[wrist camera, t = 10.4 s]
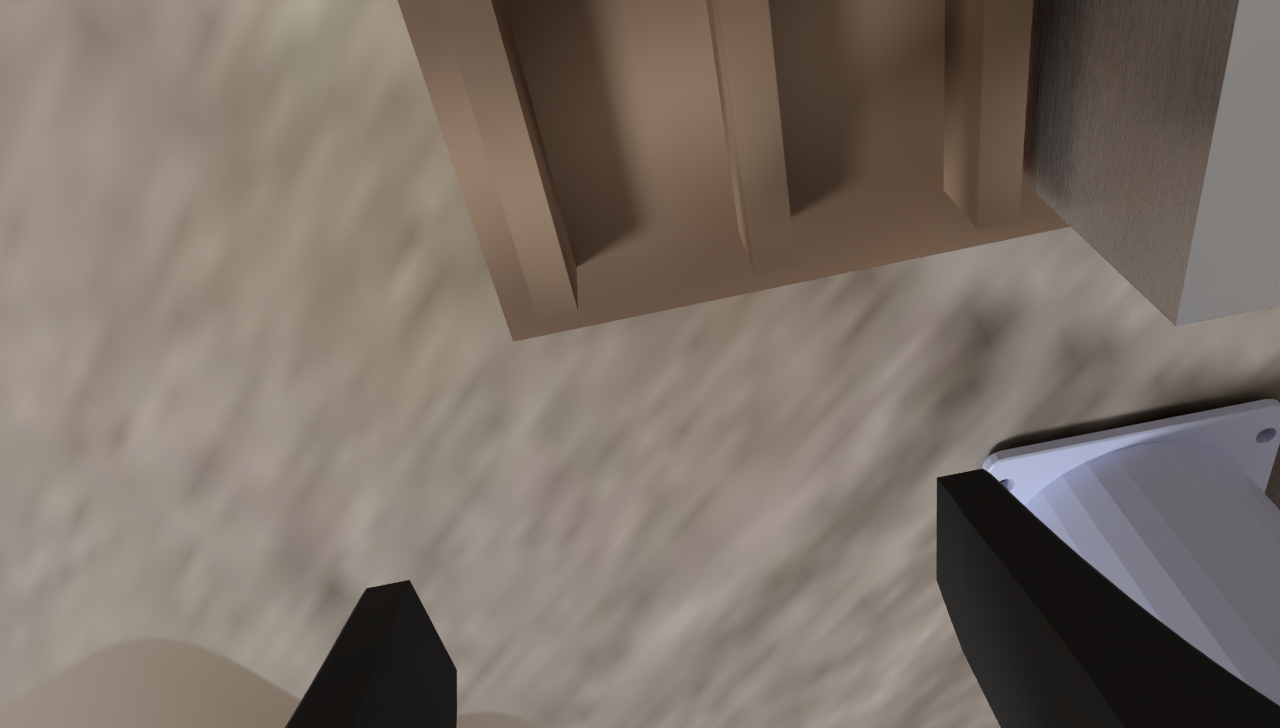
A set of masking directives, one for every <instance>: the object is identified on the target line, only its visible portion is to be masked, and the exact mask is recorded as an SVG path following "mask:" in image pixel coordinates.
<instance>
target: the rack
mask: <svg viewBox="0 0 1280 728" xmlns="http://www.w3.org/2000/svg"><path fill="white" fill-rule="evenodd" d="M398 3H399V5H400V8H401V11H402V14H403V17H404V20H405V23H406V26H407V29H408V32H409V35H410V38H411V41H412V44H413V47H414V50H415V53H416V56H417V59H418V62H419V65H420V68H421V70H422V73H423V76H424V79H425V82H426V85H427V88H428V91H429V94H430V97H431V100H432V103H433V106H434V109H435V112H436V115H437V118H438V121H439V124H440V127H441V130H442V133H443V135H444V138H445V141H446V144H447V147H448V150H449V153H450V156H451V159H452V162H453V165H454V168H455V171H456V174H457V177H458V180H459V183H460V186H461V189H462V192H463V195H464V197H465V200H466V203H467V206H468V209H469V212H470V215H471V218H472V221H473V224H474V227H475V230H476V233H477V236H478V239H479V242H480V245H481V248H482V251H483V254H484V257H485V260H486V262H487V265H488V268H489V271H490V274H491V277H492V280H493V283H494V286H495V289H496V292H497V295H498V298H499V301H500V304H501V307H502V310H503V313H504V316H505V319H506V322H507V324H508V327H509V330H510V333H511V336H512V339H513V342H514V341H518V340H523V339H528V338H533V337H538V336H543V335H547V334H552V333H557V332H562V331H567V330H572V329H576V328H581V327H586V326H591V325H596V324H601V323H606V322H610V321H615V320H620V319H625V318H630V317H635V316H639V315H644V314H649V313H654V312H659V311H664V310H668V309H673V308H678V307H683V306H688V305H693V304H697V303H702V302H707V301H712V300H717V299H722V298H726V297H731V296H736V295H741V294H746V293H751V292H755V291H760V290H765V289H770V288H775V287H780V286H785V285H789V284H794V283H799V282H804V281H809V280H814V279H818V278H823V277H828V276H833V275H838V274H843V273H847V272H852V271H857V270H862V269H867V268H872V267H876V266H881V265H886V264H891V263H896V262H901V261H905V260H910V259H915V258H920V257H925V256H930V255H934V254H939V253H944V252H949V251H954V250H959V249H964V248H968V247H973V246H978V245H983V244H988V243H993V242H997V241H1002V240H1007V239H1012V238H1017V237H1022V236H1026V235H1031V234H1036V233H1041V232H1046V231H1051V230H1055V229H1060V228H1065V227H1070V225H1069V224H1068V223H1066V222H1065V221H1064V220H1063V219H1062V218H1061V217H1060V216H1059V215H1058V214H1057V213H1056V212H1055V211H1054V210H1053V209H1052V208H1051V207H1050V206H1049V205H1047V204H1046V203H1045V202H1044V201H1043V200H1042V199H1041V198H1040V197H1039V196H1038V195H1037V194H1036V193H1035V192H1034V191H1033V190H1032V189H1031V188H1030V187H1028V186H1027V185H1026V184H1025V183H1024V182H1023V181H1022V166H1023V150H1024V135H1025V119H1026V103H1027V88H1028V72H1029V57H1030V41H1031V25H1032V10H1033V0H398Z"/></svg>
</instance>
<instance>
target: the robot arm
mask: <svg viewBox="0 0 1280 728" xmlns="http://www.w3.org/2000/svg"><path fill="white" fill-rule="evenodd" d="M1279 444H1280V402H1279V401H1277V400H1274V399H1264V400H1259V401H1253V402H1248V403H1243V404H1238V405H1233V406H1228V407H1223V408H1218V409H1212V410H1207V411H1202V412H1197V413H1192V414H1187V415H1182V416H1177V417H1171V418H1166V419H1161V420H1156V421H1151V422H1146V423H1141V424H1135V425H1130V426H1125V427H1120V428H1115V429H1110V430H1105V431H1100V432H1094V433H1089V434H1084V435H1079V436H1074V437H1069V438H1064V439H1059V440H1053V441H1048V442H1043V443H1038V444H1033V445H1028V446H1023V447H1018V448H1012V449H1007V450H1002V451H999V452H996V453H993V454H992V455H990V456H989V457H988V458H987V459H986V461H985V462H984V464H983V467H982V469H979V470H974V471H969V472H963V473H958V474H953V475H948V476H943V477H938V478H937V582H938V585H939V588H940V591H941V593H942V596H943V599H944V602H945V604H946V607H947V610H948V613H949V616H950V618H951V621H952V624H953V626H954V629H955V632H956V634H957V637H958V640H959V642H960V645H961V648H962V650H963V652H964V654H965V656H966V658H967V661H968V663H969V665H970V667H971V669H972V671H973V673H974V675H975V677H976V679H977V681H978V683H979V685H980V687H981V689H982V691H983V693H984V695H985V697H986V699H987V701H988V703H989V705H990V707H991V709H992V711H993V713H994V715H995V717H996V719H997V721H998V723H999V725H1000V727H1001V728H1280V509H1279V508H1278V507H1277V506H1276V505H1275V504H1274V503H1273V502H1272V501H1271V500H1270V499H1269V498H1268V496H1267V495H1266V494H1265V490H1266V487H1267V483H1268V480H1269V477H1270V474H1271V470H1272V467H1273V464H1274V461H1275V457H1276V454H1277V451H1278V448H1279ZM1004 479H1006V480H1005V481H1003V482H1001V483H1000V481H1002V480H1004ZM456 720H457V670H456V668H455V666H454V664H453V662H452V660H451V658H450V656H449V654H448V652H447V651H446V649H445V647H444V645H443V643H442V641H441V639H440V637H439V635H438V633H437V631H436V630H435V628H434V626H433V624H432V622H431V620H430V618H429V616H428V614H427V612H426V610H425V608H424V607H423V605H422V603H421V601H420V599H419V597H418V595H417V593H416V591H415V589H414V587H413V586H412V584H411V582H410V580H408V581H402V582H397V583H392V584H387V585H382V586H377V587H371V588H367V589H366V590H365V592H364V593H363V594H362V596H361V598H360V599H359V601H358V603H357V605H356V606H355V608H354V610H353V612H352V613H351V615H350V617H349V619H348V620H347V622H346V624H345V626H344V627H343V629H342V631H341V633H340V635H339V636H338V638H337V640H336V642H335V643H334V645H333V647H332V649H331V650H330V652H329V654H328V656H327V658H326V659H325V661H324V663H323V664H322V666H321V668H320V670H319V671H318V673H317V675H316V677H315V678H314V680H313V682H312V684H311V685H310V687H309V689H308V690H307V692H306V694H305V695H304V697H303V699H302V700H301V702H300V704H299V705H298V707H297V709H296V710H295V712H294V714H293V715H292V717H291V719H290V720H289V722H288V723H287V725H286V727H285V728H456V724H457V723H456V722H457V721H456Z"/></svg>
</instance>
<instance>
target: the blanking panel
mask: <svg viewBox="0 0 1280 728" xmlns="http://www.w3.org/2000/svg"><path fill="white" fill-rule="evenodd" d="M1022 181H1023V182H1024V183H1025V184H1026V185H1027V186H1028V187H1030V188H1031V189H1032V190H1033V191H1034V192H1035V193H1036V194H1037V195H1038V196H1039V197H1040V198H1041V199H1042V200H1043V201H1044V202H1045V203H1046V204H1047V205H1049V206H1050V207H1051V208H1052V209H1053V210H1054V211H1055V212H1056V213H1057V214H1058V215H1059V216H1060V217H1061V218H1062V219H1063V220H1064V221H1065V222H1066V223H1068V224H1069V225H1070V226H1071V227H1072V228H1073V229H1074V230H1075V231H1076V232H1077V233H1078V234H1079V235H1080V236H1081V237H1082V238H1083V239H1084V240H1085V241H1086V242H1088V243H1089V244H1090V245H1091V246H1092V247H1093V248H1094V249H1095V250H1096V251H1097V252H1098V253H1099V254H1100V255H1101V256H1102V257H1103V258H1104V259H1105V260H1107V261H1108V262H1109V263H1110V264H1111V265H1112V266H1113V267H1114V268H1115V269H1116V270H1117V271H1118V272H1119V273H1120V274H1121V275H1122V276H1123V277H1124V278H1126V279H1127V280H1128V281H1129V282H1130V283H1131V284H1132V285H1133V286H1134V287H1135V288H1136V289H1137V290H1138V291H1139V292H1140V293H1141V294H1142V295H1143V296H1144V297H1146V298H1147V299H1148V300H1149V301H1150V302H1151V303H1152V304H1153V305H1154V306H1155V307H1156V308H1157V309H1158V310H1159V311H1160V312H1161V313H1162V314H1163V315H1165V316H1166V317H1167V318H1168V319H1169V320H1170V321H1171V322H1172V323H1173V324H1174V325H1175V326H1179V325H1184V324H1189V323H1194V322H1199V321H1204V320H1209V319H1214V318H1219V317H1224V316H1229V315H1234V314H1239V313H1244V312H1249V311H1254V310H1259V309H1264V308H1269V307H1274V306H1279V305H1280V0H1033V10H1032V25H1031V41H1030V57H1029V72H1028V88H1027V103H1026V119H1025V135H1024V150H1023V166H1022Z"/></svg>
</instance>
